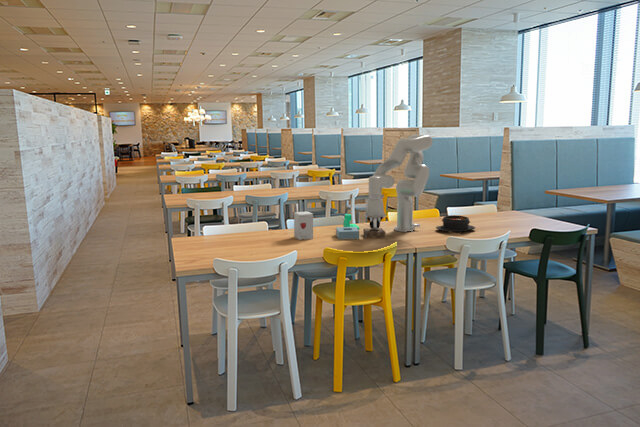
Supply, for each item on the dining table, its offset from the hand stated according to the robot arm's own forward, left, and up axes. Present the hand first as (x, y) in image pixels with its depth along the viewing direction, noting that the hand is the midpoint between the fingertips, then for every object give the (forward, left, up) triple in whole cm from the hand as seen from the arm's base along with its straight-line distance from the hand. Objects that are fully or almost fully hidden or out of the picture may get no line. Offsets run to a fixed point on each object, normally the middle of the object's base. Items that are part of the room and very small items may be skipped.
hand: (374, 227), depth 289 cm
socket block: (+16, 0, -5) cm, 17 cm away
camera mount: (+11, -19, -6) cm, 22 cm away
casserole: (-53, -9, -5) cm, 54 cm away
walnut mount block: (0, 0, -5) cm, 5 cm away
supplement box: (+42, 0, -5) cm, 42 cm away
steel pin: (0, 0, -5) cm, 5 cm away
